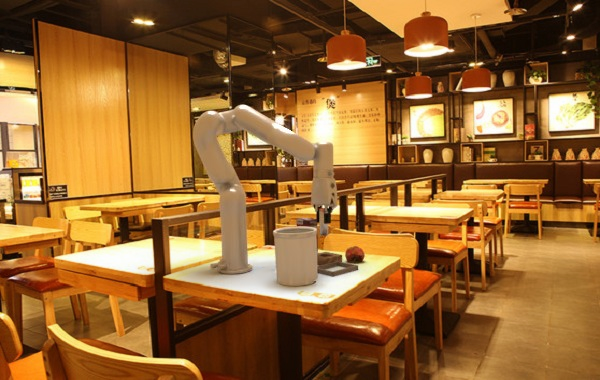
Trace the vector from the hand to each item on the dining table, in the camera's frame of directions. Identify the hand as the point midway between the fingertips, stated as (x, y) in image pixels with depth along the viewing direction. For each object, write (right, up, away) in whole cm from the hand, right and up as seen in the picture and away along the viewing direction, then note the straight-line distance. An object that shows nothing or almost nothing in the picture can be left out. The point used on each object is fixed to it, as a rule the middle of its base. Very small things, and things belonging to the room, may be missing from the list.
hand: (323, 222), depth 170 cm
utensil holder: (-10, -19, -19) cm, 29 cm away
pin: (0, -5, 0) cm, 5 cm away
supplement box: (-6, -16, +19) cm, 26 cm away
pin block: (+1, -17, +1) cm, 17 cm away
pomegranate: (+12, -17, +2) cm, 21 cm away
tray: (+4, -17, -11) cm, 21 cm away
